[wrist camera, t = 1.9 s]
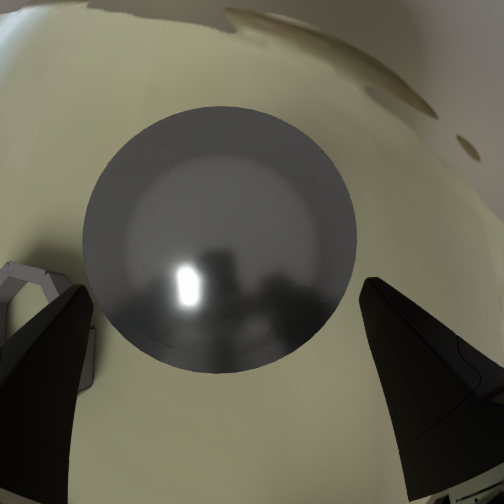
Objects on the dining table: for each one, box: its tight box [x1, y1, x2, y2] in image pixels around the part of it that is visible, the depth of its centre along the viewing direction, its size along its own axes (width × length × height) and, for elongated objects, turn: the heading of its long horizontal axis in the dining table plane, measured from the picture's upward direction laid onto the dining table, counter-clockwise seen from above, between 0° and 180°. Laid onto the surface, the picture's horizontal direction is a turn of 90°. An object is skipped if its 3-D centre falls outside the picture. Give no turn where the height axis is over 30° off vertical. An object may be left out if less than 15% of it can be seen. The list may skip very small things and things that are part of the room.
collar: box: [0, 261, 95, 397], centre depth 14 cm, size 10×10×2 cm
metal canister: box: [83, 106, 357, 374], centre depth 11 cm, size 5×5×12 cm
